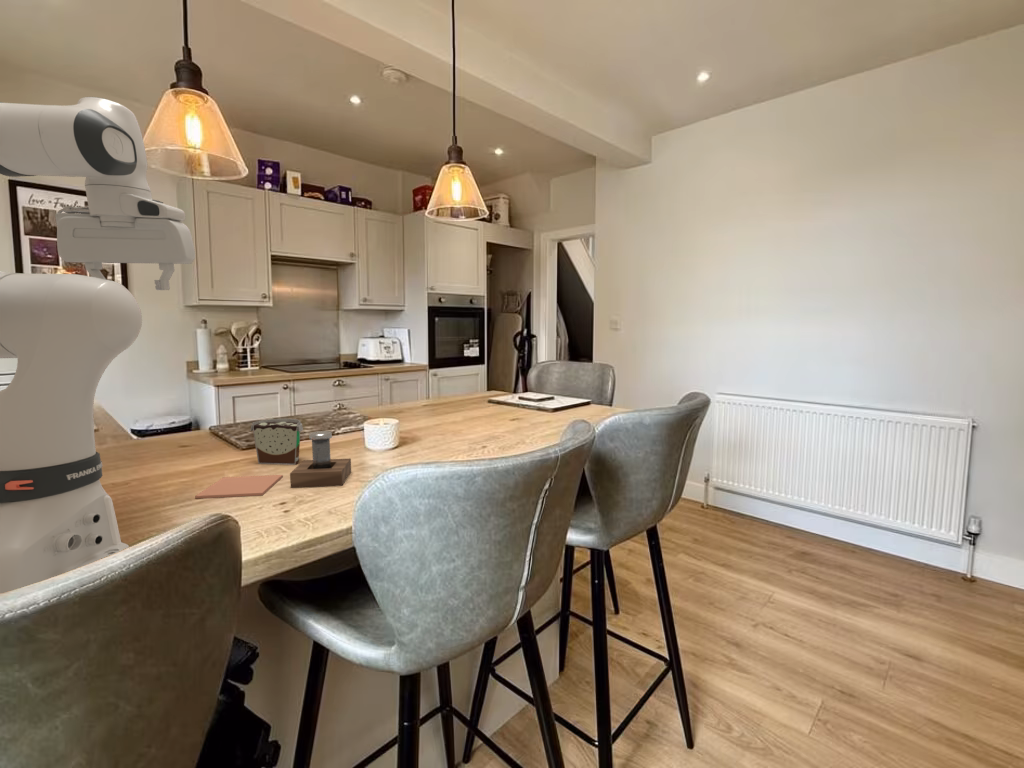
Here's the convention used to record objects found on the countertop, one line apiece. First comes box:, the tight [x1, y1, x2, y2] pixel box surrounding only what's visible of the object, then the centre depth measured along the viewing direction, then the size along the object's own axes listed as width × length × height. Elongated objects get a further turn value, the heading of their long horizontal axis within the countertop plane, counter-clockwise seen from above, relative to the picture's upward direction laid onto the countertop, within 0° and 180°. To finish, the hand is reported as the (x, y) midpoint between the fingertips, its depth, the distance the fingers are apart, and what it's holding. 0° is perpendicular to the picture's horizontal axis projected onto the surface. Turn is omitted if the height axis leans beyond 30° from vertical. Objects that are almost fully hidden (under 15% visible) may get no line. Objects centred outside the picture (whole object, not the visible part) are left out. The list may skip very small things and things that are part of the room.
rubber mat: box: [194, 474, 284, 500], centre depth 99 cm, size 12×12×1 cm
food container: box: [250, 418, 304, 466], centre depth 118 cm, size 12×6×10 cm, turn 84°
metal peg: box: [308, 430, 333, 469], centre depth 103 cm, size 4×4×10 cm
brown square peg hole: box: [289, 458, 352, 489], centre depth 104 cm, size 10×10×3 cm
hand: (134, 290), depth 86 cm, fingers open, 8 cm apart
